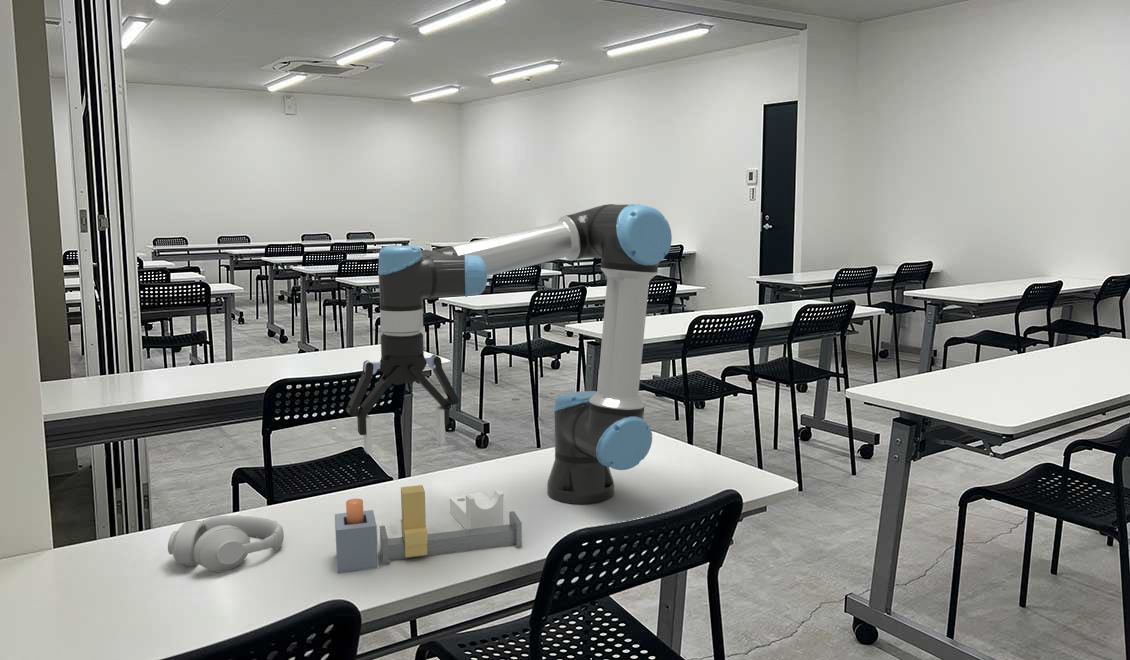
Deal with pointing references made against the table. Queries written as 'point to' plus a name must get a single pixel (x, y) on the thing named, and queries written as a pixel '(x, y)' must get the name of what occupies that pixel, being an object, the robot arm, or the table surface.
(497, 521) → the bracket
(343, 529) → the housing
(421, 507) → the carriage
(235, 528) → the headphones
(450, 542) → the rail
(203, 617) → the table surface
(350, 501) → the plunger
